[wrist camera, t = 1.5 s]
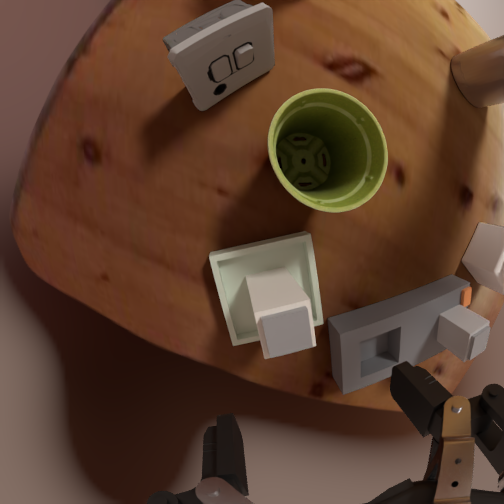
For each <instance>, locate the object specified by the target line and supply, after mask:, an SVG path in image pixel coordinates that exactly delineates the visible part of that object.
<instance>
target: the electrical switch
mask: <svg viewBox="0 0 504 504" xmlns="http://www.w3.org/2000/svg"><path fill="white" fill-rule="evenodd" d="M238 5H239V6H238ZM220 14H221V15H220ZM218 17H219V18H221V19H219V18H218ZM199 27H202V28H203V29H201V28H199ZM176 33H177V34H176ZM163 40H164V41H163V42H164V44H165V45H166V47H167V49H168V51H169V55H168V59H169V60H170V62H171V64H172V66H173V67H174V66H175V68H176V69H177V71H178V73H179V75H180V76H181V78H182V80H183V82H184V84H185V86H186V87H187V89H188V91H189V93H190V95H191V97H192V98H193V100H192V101H193V103H194V105H195V106H196V107H197V108H198V109H199V110H200V111H205V110H207V109H208V108H210V107H211V106H213V105H214V104H216V103H217V102H219V101H220V100H222V99H223V98H225V97H226V96H228V95H229V94H231V93H232V92H234V91H236V90H237V89H239V88H240V87H242V86H244V85H245V84H247V83H249V82H250V81H252V80H254V79H255V78H257V77H259V76H261V75H262V74H264V73H266V72H268V71H269V70H271V69H272V68H273V66H274V65H275V61H274V35H273V12H272V9H271V8H270V7H269V6H267V5H266V4H264V3H260V4H257V5H255V6H252V5H249V4H246V3H244V2H242V1H241V0H234V1H231V2H229V3H227V4H225V5H223V6H220V7H218V8H216V9H214V10H212V11H210V12H208V13H206V14H204V15H202V16H200V17H198V18H196V19H194V20H193V21H191V22H189V23H187V24H185V25H184V26H182V27H180V28H179V29H177V30H175V31H174V32H172V33H170V34H169V35H167V36H165V37H164V38H163ZM165 41H166V42H167V43H168V44H167V43H166V42H165Z"/></svg>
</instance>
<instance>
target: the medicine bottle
mask: <svg viewBox="0 0 504 504" xmlns="http://www.w3.org/2000/svg"><path fill="white" fill-rule="evenodd" d="M462 263H463V264H464V265H465V267H466V268H467V269H468V271H469V272H470V273H471V275H472V276H473V277H474V279H475V280H476V282H477V283H479V284H481V285H483V286H485V287H488V288H490V289H492V290H494V291H496V292H499V293H501V294H503V295H504V227H503V226H498V225H493V224H488V223H483V222H479V223H478V226H477V228H476V230H475V233H474V235H473V237H472V239H471V241H470V244H469V246H468V248H467V250H466V252H465V254H464V256H463V258H462Z"/></svg>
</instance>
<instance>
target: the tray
mask: <svg viewBox="0 0 504 504" xmlns="http://www.w3.org/2000/svg"><path fill="white" fill-rule="evenodd" d="M209 259H210V263H211V267H212V271H213V275H214V279H215V282H216V286H217V290H218V294H219V298H220V301H221V305H222V309H223V312H224V316H225V319H226V323H227V327H228V330H229V334H230V337H231V341H232V344H233V346H236V345H241V344H245V343H250V342H254V341H259V340H260V337H259V333H258V328H257V324H256V320H255V315H254V311H253V307H252V303H251V298H250V294H249V290H248V285H247V281H246V276H245V275H250V274H254V273H258V272H263V271H267V270H271V269H276V268H280V267H285V268H286V269H287V270H288V272H289V273H290V274H291V275H292V277H293V278H294V279H295V281H296V282H297V283H298V284H299V286H300V287H301V288H302V290H303V291H304V292H305V293H306V295H307V296H308V297H309V299H310V302H311V309H312V317H313V324H314V326H318V325H321V324H323V315H322V307H321V299H320V292H319V284H318V277H317V270H316V264H315V257H314V251H313V244H312V238H311V234H310V233H308V232H306V231H303V232H298V233H294V234H289V235H285V236H280V237H276V238H271V239H267V240H262V241H258V242H253V243H249V244H244V245H240V246H236V247H231V248H227V249H222V250H218V251H214V252H210V255H209Z"/></svg>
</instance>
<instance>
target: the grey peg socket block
mask: <svg viewBox="0 0 504 504" xmlns="http://www.w3.org/2000/svg"><path fill="white" fill-rule="evenodd" d="M471 292H472V288H471V287H470V282H468V281H466V280H463V279H461V278H459V277H457V276H454V275H452V274H451V275H449V276H447V277H444V278H442V279H439V280H437V281H434V282H432V283H429V284H427V285H424V286H422V287H419V288H416V289H414V290H411V291H409V292H406V293H403V294H400V295H398V296H395V297H392V298H389V299H386V300H383V301H380V302H377V303H374V304H371V305H368V306H365V307H362V308H359V309H356V310H353V311H350V312H346V313H343V314H340V315H337V316H333V317H330V318H327V319H328V328H329V339H330V350H331V362H332V375H333V378H334V380H335V381H336V383H337V385H338V387H339V388H340V390H341V392H342V394H343V395H344V394H347V393H350V392H352V391H355V390H358V389H361V388H363V387H366V386H368V385H371V384H374V383H376V382H379V381H381V380H383V379H386V378H388V377H390V376H391V374H392V368H393V366H395V365H398V364H400V363H402V362H404V361H408V362H409V363H410V364H411V365H412V366H414V365H416V364H419V363H421V362H423V361H425V360H426V359H428V358H430V357H432V356H434V355H436V354H438V353H440V352H442V351H443V350H445V349H448V350H449V351H451V352H452V353H453V354H454V355H456V356H457V357H458V358H459V359H461V360H462V361H463V362H465V361H466V360H468V359H469V360H471V359H473V358H474V357H475V356H477V355H478V354H480V353H481V352H483V351H484V350H485V349H486V345H487V340H488V337H489V332H490V327H489V322H490V321H489V320H487V319H485V318H483V317H482V316H480V315H478V314H476V313H475V312H473V311H471V310H469V309H468V305H469V304H470V302H471Z"/></svg>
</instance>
